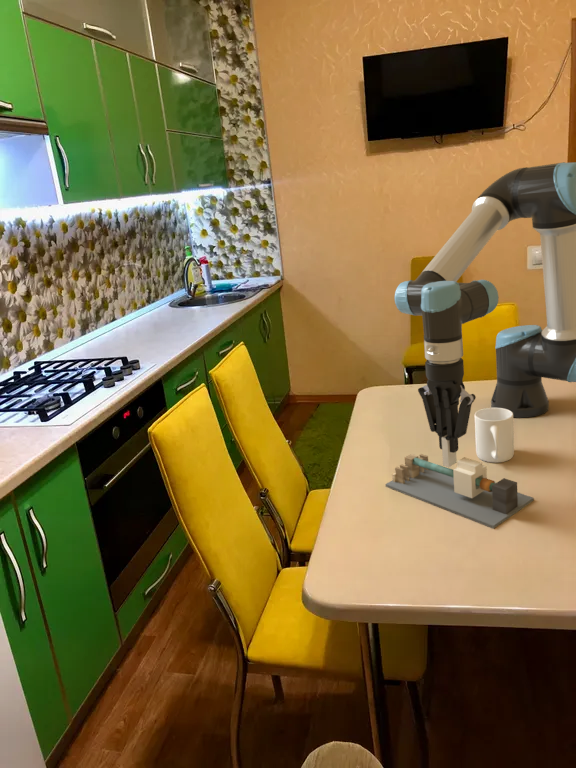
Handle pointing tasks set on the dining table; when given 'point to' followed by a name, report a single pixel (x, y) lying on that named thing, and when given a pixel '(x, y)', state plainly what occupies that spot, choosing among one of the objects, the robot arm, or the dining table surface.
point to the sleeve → (468, 477)
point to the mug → (494, 434)
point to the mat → (455, 498)
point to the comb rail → (501, 491)
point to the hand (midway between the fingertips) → (449, 464)
